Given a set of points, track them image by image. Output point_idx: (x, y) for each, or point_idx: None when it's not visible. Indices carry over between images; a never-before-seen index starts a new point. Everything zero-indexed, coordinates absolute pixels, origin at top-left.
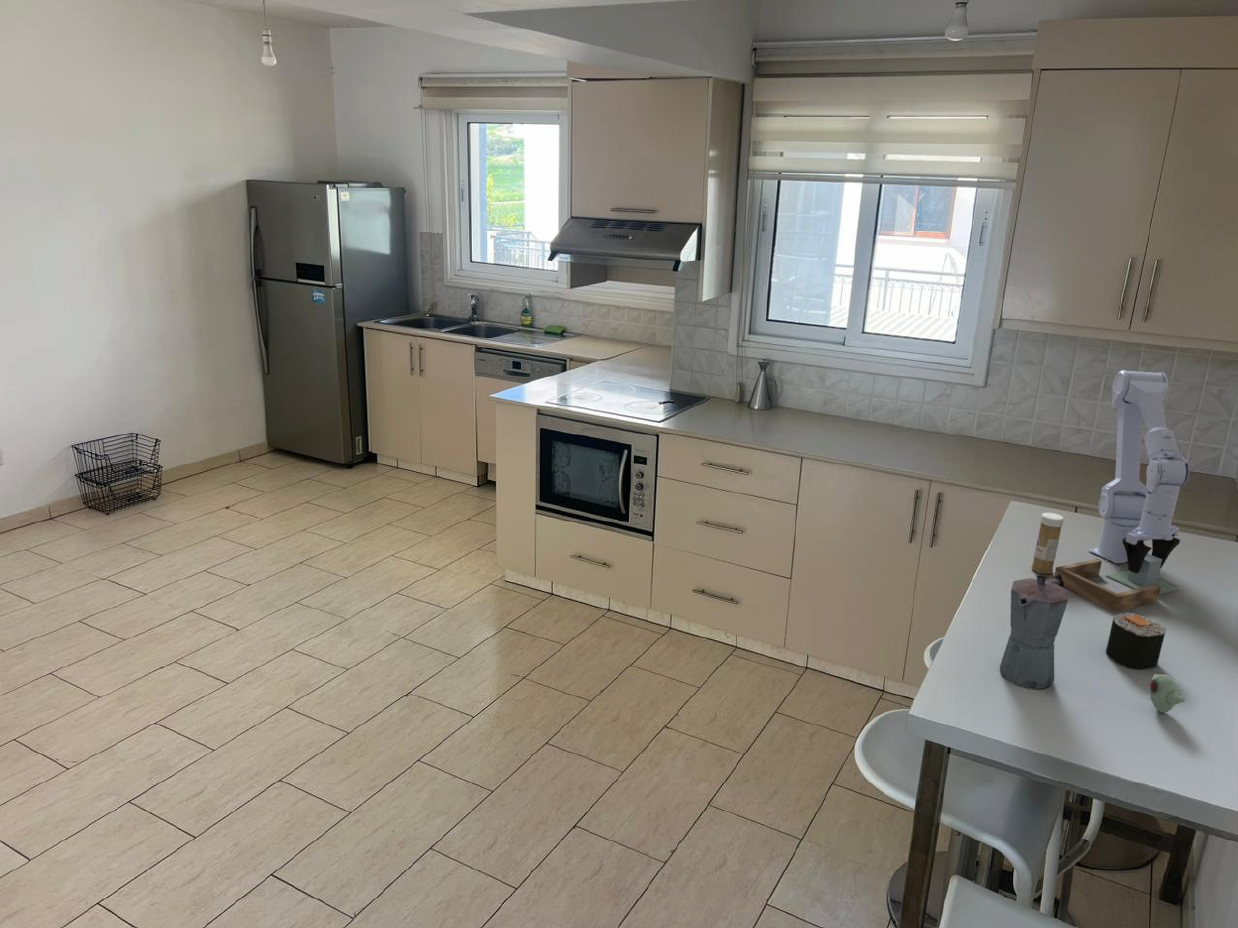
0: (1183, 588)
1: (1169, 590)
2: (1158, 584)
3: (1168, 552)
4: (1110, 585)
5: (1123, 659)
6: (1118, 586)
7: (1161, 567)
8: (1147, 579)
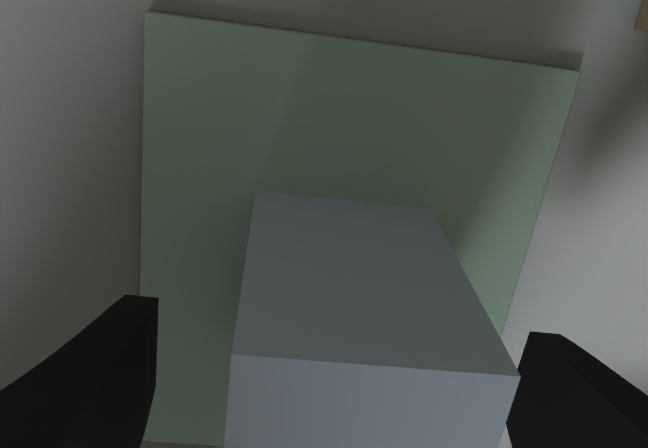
0: (40, 4)
1: (283, 39)
2: (241, 175)
3: (34, 423)
4: (610, 355)
5: None
6: (577, 319)
7: (123, 296)
8: (426, 238)
